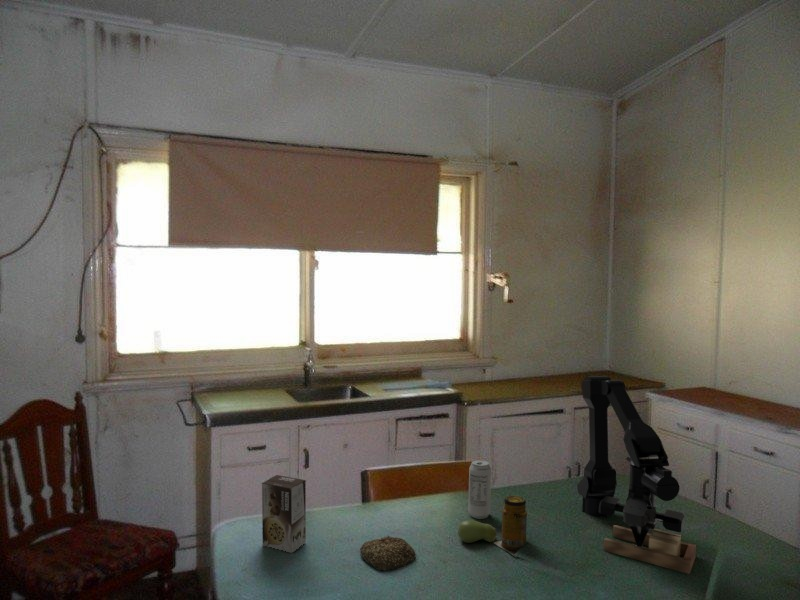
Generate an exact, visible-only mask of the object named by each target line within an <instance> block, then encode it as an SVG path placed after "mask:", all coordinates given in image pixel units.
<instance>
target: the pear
mask: <svg viewBox="0 0 800 600" xmlns="http://www.w3.org/2000/svg"><path fill="white" fill-rule="evenodd" d="M496 529H497V528H496V527H494V526H492V525H491V524H489V523H482V522H480V521H477V520H473V519H471V520H470V519H466V520H463V521H462V522H461V523H460V524H459V525H458V528H457V533H458V534H457V535H458V537H459V539H460V540H461V541H463V543H467V544H472V543H475V542H477V541H480V540H484V541H485V542H488V543H494V541H495V538H497V537H496V536H497V531H496Z"/></svg>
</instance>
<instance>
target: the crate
mask: <svg viewBox="0 0 800 600" xmlns="http://www.w3.org/2000/svg"><path fill="white" fill-rule="evenodd" d="M650 534H651V535H650V538H649V546H648V549H651V550H655V551H658V552H662V553H666V554H670V555H674V556H678V557H681V555H680V548H681V541H682V535H681V534H679V533H674V532H670V531H666V530H662V529H657V528H655V529H652V533H650Z"/></svg>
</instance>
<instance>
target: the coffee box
mask: <svg viewBox="0 0 800 600" xmlns="http://www.w3.org/2000/svg"><path fill="white" fill-rule="evenodd" d="M306 482H307V481H306V480H305V479H302V478H295V477H290V476H285V475H278V474H276V475H274V476H272V477H270V478H268V479H267V480H265V481H263V482H261V508H262V510H261V511H262V512H261V515H262V517H261V518H262V519H261V520H262V522H261V523H262V526H261V527H262V531H261V532H262V546H263V547H265V546H267V547H266V548H269V547H272V548H271V549H273V548H275V549H274V550H277V549H279V550H278V551H281V550H283V551H282V552H285V551H286V552H287V553H290V554H293V553H294V552H295V551H297V550H299V549H300V548H301V547H302V546H304V545H305V544H306V543H305V542H306V539H307V538H306V529H307V528H306V525H307V524H306V516H307V515H306V513H307V512H306V498H307V497H306V492H307V491H306V488H307V487H306ZM304 543H305V544H304ZM303 544H304V545H303ZM301 545H302V546H301ZM300 546H301V547H300ZM299 547H300V548H299ZM296 549H297V550H296Z"/></svg>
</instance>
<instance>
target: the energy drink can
mask: <svg viewBox="0 0 800 600" xmlns="http://www.w3.org/2000/svg"><path fill="white" fill-rule="evenodd" d="M468 471H469V472H468V473H469V476H468V509H467V510H468V513H469V515H470V517H471V518H473V519H478V520H481V519H487V518H488V517H489V515H490V514H491V491H492V487H491V485H492V481H491V480H492V468H491V466H490V463H489V461H487V460H483V459H474V460H472V461H471V464H470V466H469V469H468Z"/></svg>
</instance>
